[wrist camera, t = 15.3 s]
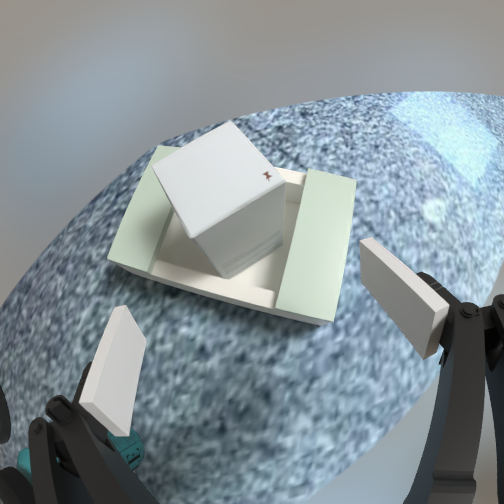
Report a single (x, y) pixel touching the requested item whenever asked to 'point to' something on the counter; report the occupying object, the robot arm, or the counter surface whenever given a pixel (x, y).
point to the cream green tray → (263, 271)
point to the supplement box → (225, 198)
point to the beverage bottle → (20, 480)
